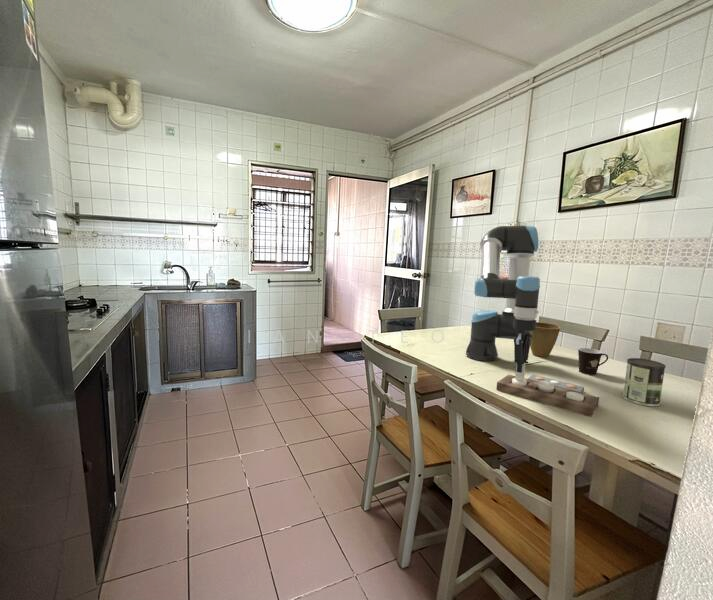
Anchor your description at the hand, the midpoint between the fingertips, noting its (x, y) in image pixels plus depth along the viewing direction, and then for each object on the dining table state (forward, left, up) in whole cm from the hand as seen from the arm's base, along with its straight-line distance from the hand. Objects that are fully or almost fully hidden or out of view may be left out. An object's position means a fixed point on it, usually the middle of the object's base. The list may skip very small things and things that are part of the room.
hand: (519, 379), depth 126 cm
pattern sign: (+9, +13, -4) cm, 16 cm away
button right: (+18, 0, -3) cm, 18 cm away
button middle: (+9, 0, -1) cm, 9 cm away
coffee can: (+34, +23, -4) cm, 41 cm away
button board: (+9, 0, -4) cm, 10 cm away
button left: (0, 0, -3) cm, 3 cm away
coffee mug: (+16, +44, -4) cm, 47 cm away
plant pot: (-8, +57, -4) cm, 58 cm away
